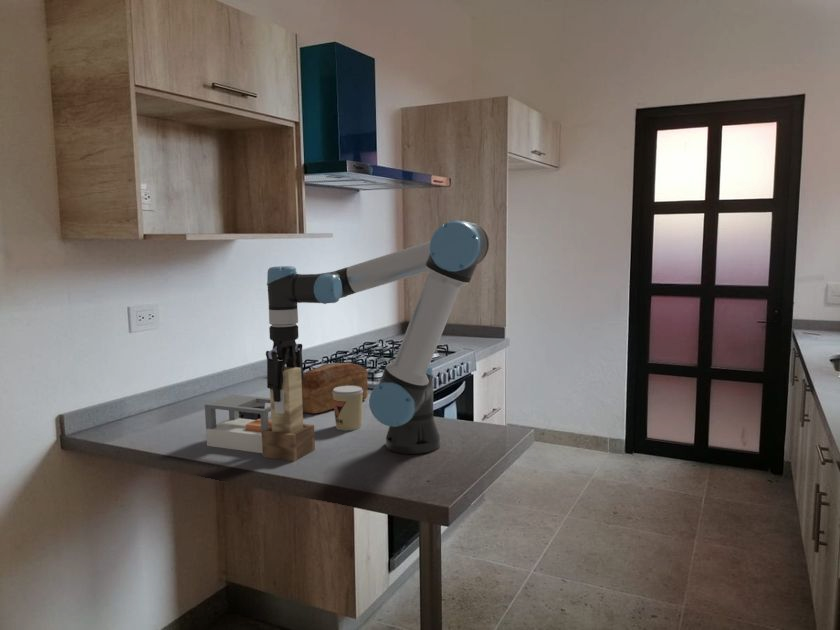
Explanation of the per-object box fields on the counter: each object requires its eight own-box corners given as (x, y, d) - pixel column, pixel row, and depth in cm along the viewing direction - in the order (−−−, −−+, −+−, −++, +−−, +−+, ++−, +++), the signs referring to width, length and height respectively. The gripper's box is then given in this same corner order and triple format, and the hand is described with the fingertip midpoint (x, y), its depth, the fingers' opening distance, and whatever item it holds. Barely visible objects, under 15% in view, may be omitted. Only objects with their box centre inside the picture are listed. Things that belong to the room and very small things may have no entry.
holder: (315, 449, 182) (314, 425, 181) (294, 461, 173) (293, 435, 172) (284, 445, 186) (283, 421, 185) (262, 457, 177) (261, 431, 176)
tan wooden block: (303, 439, 181) (301, 367, 178) (291, 446, 175) (288, 372, 173) (285, 437, 183) (282, 366, 181) (272, 443, 178) (269, 370, 175)
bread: (373, 400, 236) (372, 360, 235) (313, 417, 215) (312, 374, 213) (350, 395, 244) (349, 357, 242) (290, 411, 223) (288, 370, 221)
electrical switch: (264, 423, 209) (263, 395, 207) (268, 429, 204) (267, 401, 202) (234, 428, 205) (233, 399, 203) (236, 434, 200) (235, 404, 199)
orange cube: (277, 441, 189) (276, 420, 188) (264, 448, 183) (263, 426, 183) (259, 439, 191) (258, 418, 191) (246, 445, 186) (245, 424, 185)
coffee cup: (329, 425, 206) (327, 387, 204) (357, 421, 210) (356, 384, 208) (339, 433, 197) (338, 393, 196) (368, 428, 202) (367, 389, 200)
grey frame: (290, 440, 191) (288, 400, 189) (265, 453, 180) (263, 410, 178) (234, 433, 199) (232, 394, 197) (207, 445, 188) (204, 404, 186)
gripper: (292, 319, 186) (295, 400, 188) (249, 329, 168) (253, 417, 171) (315, 320, 183) (317, 402, 185) (274, 330, 165) (277, 420, 168)
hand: (287, 409), depth 178 cm, fingers closed on tan wooden block, 6 cm apart
